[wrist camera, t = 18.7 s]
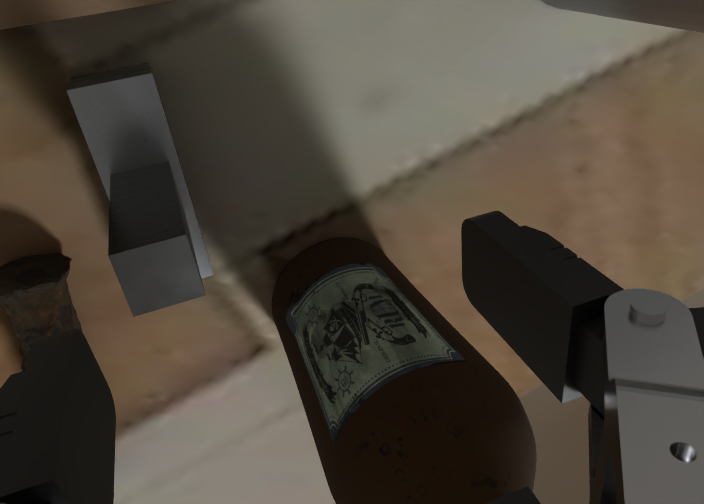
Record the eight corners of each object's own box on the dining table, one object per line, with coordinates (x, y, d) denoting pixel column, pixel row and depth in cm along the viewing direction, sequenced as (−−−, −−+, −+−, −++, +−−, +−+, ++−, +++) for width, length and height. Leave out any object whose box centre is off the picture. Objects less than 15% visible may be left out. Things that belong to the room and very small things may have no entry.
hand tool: (-7, 254, 32) (-25, 297, 28) (70, 245, 33) (63, 285, 29) (64, 481, 41) (58, 537, 37) (123, 467, 42) (122, 520, 39)
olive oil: (418, 305, 45) (674, 620, 24) (302, 376, 44) (465, 761, 23) (369, 200, 39) (654, 501, 18) (234, 280, 38) (372, 687, 17)
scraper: (149, 61, 30) (165, 122, 20) (207, 252, 36) (240, 369, 27) (70, 77, 29) (47, 149, 19) (144, 270, 36) (154, 398, 26)
